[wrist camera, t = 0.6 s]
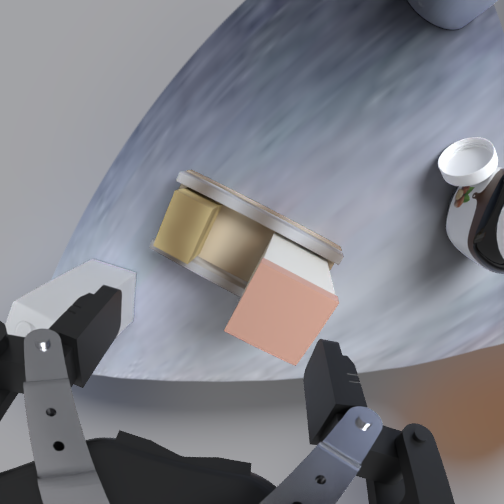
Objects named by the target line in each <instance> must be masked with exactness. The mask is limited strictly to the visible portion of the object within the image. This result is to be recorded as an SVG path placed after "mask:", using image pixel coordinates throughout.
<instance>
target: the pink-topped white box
mask: <svg viewBox="0 0 504 504" xmlns="http://www.w3.org/2000/svg"><path fill="white" fill-rule="evenodd" d="M338 304H339V301H338V296H336V295H335V292H334V288H333V283H332V279H331V275H330V271H329V267H328V262H327V259H326V258H324V257H322V256H320V255H318V254H317V253H315V252H313V251H311V250H309V249H307V248H305V247H303V246H302V245H300V244H298V243H296V242H294V241H292V240H290V239H288V238H286V237H285V236H283V235H281V234H279V233H277V232H274V234H273V236H272V238H271V240H270V241H269V243H268V245H267V247H266V249H265V251H264V253H263V255H262V257H261V258H260V260H259V262H258V264H257V266H256V268H255V270H254V272H253V273H252V275H251V277H250V279H249V281H248V283H247V285H246V288H245V290H244V292H243V294H242V296H241V298H240V301H239V303H238V305H237V307H236V308H235V310H234V312H233V314H232V316H231V318H230V320H229V321H228V323H227V325H226V327H225V330H224V331H225V332H227V333H229V334H231V335H233V336H235V337H237V338H239V339H241V340H243V341H245V342H247V343H249V344H251V345H253V346H255V347H257V348H259V349H261V350H263V351H265V352H267V353H269V354H271V355H273V356H275V357H278V358H280V359H282V360H284V361H286V362H288V363H290V364H293V365H295V366H296V365H297V363H298V362H299V361H300V359H301V358H302V356H303V355H304V354H305V352H306V351H307V349H308V348H309V347H310V345H311V344H312V342H313V341H314V339H315V338H316V337H317V335H318V334H319V332H320V331H321V329H322V328H323V326H324V325H325V323H326V322H327V320H328V319H329V317H330V316H331V314H332V313H333V311H334V310H335V308H336V307H337V305H338Z"/></svg>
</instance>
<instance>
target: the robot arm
mask: <svg viewBox="0 0 504 504" xmlns="http://www.w3.org/2000/svg"><path fill="white" fill-rule="evenodd" d="M497 1H498V0H408V2H409V3H410V5H411V6H412V7H413V9H414V10H415V11H416V12H417V13H418V14H419V15H421V16H422V17H423V18H424V19H426V20H427V21H429V22H430V23H432V24H434V25H436V26H438V27H442V28H444V29H451V30H454V29H460V28H463V27H464V26H465V25H466V24H468V23H469V22H470V21H472V20H473V19H475V18H476V17H478V16H479V15H480V14H481V13H483V12H484V11H485V10H487V9H488V8H489V7H490V6H492V5H493V4H494V3H496V2H497ZM121 307H122V291H121V290H120V289H117V288H113V287H110V286H107V285H103V286H101V287H100V288H99V289H98V291H97V292H96V293H95V294H92V293H88V294H86V295H83V296H81V297H79V298H78V299H77V300H76V301H75V302H74V303H73V305H71V306H70V307H69V308H68V309H67V311H65V312H64V313H63V314H62V315H61V316H60V317H59V318H58V319H57V320H56V321H55V322H54V324H53V325H52V326H51V327H50V328H49V329H36V330H33V331H31V332H30V333H28V334H27V335H26V337H21V336H15V335H9V334H7V330H6V326H5V325H4V323H2V322H1V321H0V421H1V419H2V417H3V416H4V414H5V413H6V411H7V409H8V408H9V406H10V405H11V403H12V402H13V400H14V399H15V397H16V396H17V394H18V393H23V394H24V398H25V407H26V415H27V422H28V428H29V435H30V440H31V446H32V451H33V456H34V461H32V462H30V463H27V464H24V465H22V466H19V467H16V468H13V469H10V470H7V471H4V472H1V473H0V504H336V502H337V501H338V500H339V498H340V497H341V496H342V494H343V493H344V492H345V490H346V489H347V487H348V486H349V484H350V483H351V482H352V480H353V479H354V477H355V476H359V477H362V478H366V483H367V490H368V500H369V504H455V503H454V500H453V496H452V492H451V489H450V486H449V482H448V479H447V476H446V472H445V469H444V466H443V463H442V460H441V457H440V454H439V451H438V448H437V445H436V442H435V439H434V437H433V435H432V433H431V432H430V431H429V430H428V429H427V428H426V427H424V426H422V425H420V424H409V425H407V426H406V427H405V428H404V429H403V430H402V431H399V430H396V429H392V428H389V427H386V426H383V423H382V420H381V418H380V417H379V416H378V414H377V413H376V412H374V411H373V410H371V409H369V408H367V405H366V401H365V397H364V394H363V391H362V387H361V384H360V383H359V382H360V381H359V378H358V376H357V371H356V368H355V365H354V364H353V362H352V361H351V360H350V359H349V358H348V356H343V355H342V353H341V349H340V346H339V343H338V342H334V341H328V340H323V339H320V340H319V341H318V342H317V344H316V346H315V349H314V351H313V353H312V356H311V358H310V360H309V362H308V364H307V367H306V369H305V373H304V390H305V400H306V409H307V419H308V430H309V440H310V444H313V445H317V446H316V448H314V450H312V452H311V453H310V454H309V455H308V456H307V457H306V458H305V459H304V460H303V461H302V462H301V463H300V464H299V466H298V467H297V468H296V469H295V470H294V471H293V472H292V473H291V474H290V475H289V476H288V477H287V478H286V479H285V480H284V481H283V482H282V483H281V484H280V485H279V486H278V487H276V486H275V485H273V484H272V483H270V482H269V481H267V480H266V479H264V478H263V477H261V476H259V475H257V474H254V473H252V472H251V463H246V462H240V461H234V460H229V459H224V458H218V457H217V458H216V457H213V458H211V457H208V458H207V457H182V456H180V455H178V454H175V453H174V452H172V451H170V450H168V449H166V448H164V447H162V446H160V445H158V444H156V443H154V442H153V441H151V440H147V439H144V438H141V437H138V436H135V435H132V434H129V433H126V432H123V431H119V433H118V435H117V437H116V438H94V439H89V440H85V438H84V435H83V431H82V428H81V424H80V421H79V418H78V414H77V411H76V407H75V403H74V399H73V395H72V391H71V387H72V385H73V384H75V385H77V386H80V387H82V388H83V387H84V385H85V384H86V382H87V381H88V379H89V378H90V376H91V374H92V373H93V371H94V370H95V368H96V367H97V365H98V364H99V362H100V361H101V359H102V357H103V356H104V354H105V353H106V351H107V350H108V348H109V347H110V345H111V344H112V342H113V341H114V339H115V338H116V336H117V335H118V332H119V330H120V326H121Z"/></svg>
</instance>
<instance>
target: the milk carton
mask: <svg viewBox="0 0 504 504" xmlns="http://www.w3.org/2000/svg"><path fill="white" fill-rule="evenodd" d="M103 285H107V286H110V287H113V288H117V289H120V290H121V291H122V307H121V326H120V330H119V332H118V335H119V334H120V333H121V332H122V331H124V330H125V329H126V328H127V327H128V326H129V325H130V324H131V323H132V322H133V319H134V300H135V285H136V272H133V271H130V270H127V269H124V268H120V267H117V266H114V265H111V264H108V263H105V262H102V261H99V260H95V259H91V260H89V261H87V262H85V263H83V264H81V265H79V266H77V267H75V268H73V269H71V270H69V271H68V272H66V273H64V274H62V275H60V276H58V277H56V278H54V279H53V280H51V281H49V282H47V283H45V284H43V285H42V286H40V287H38V288H36V289H34V290H33V291H31V292H29V293H27V294H25V295H24V296H22V297H20V298H19V299H17V300H15V301H14V302H13V304H12V307H11V309H10V312H9V315H8V318H7V321H6V324H5V326H6V330H7V334H9V335H15V336H21V337H26V335H27V334H28V333H30V332H31V331H33V330H36V329H49V328H50V327H51V326H52V325H53V324H54V322H55V321H56V320H57V319H58V318H59V317H60V316H61V315H62V314H63V313H64V312H65V311H67V309H68V308H69V307H70V306H71V305H73V303H74V302H75V301H76V300H77V299H78V298H79V297H81V296H83V295H86V294H88V293H92V294H95V293H96V292H97V291H98V289H99V288H100V287H101V286H103ZM118 335H117V336H118ZM117 336H116V337H117Z"/></svg>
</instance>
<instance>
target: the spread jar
mask: <svg viewBox="0 0 504 504" xmlns="http://www.w3.org/2000/svg"><path fill="white" fill-rule="evenodd" d="M497 165H498V157H497V154H496V151H495V148H494V146H493V144H492V143H491V142H490V141H489V140H487V139H485V138H480V137H470V138H465V139H462V140H459V141H457V142H455V143H453V144H451V145H450V146H449V147H447V148H446V149H445V150H444V151H443V152H442V154H441V155H440V157H439V159H438V167H439V169H440V171H441V174H442V176H443V178H444V180H445V181H446V182H447V183H449V184H451V185H454V186H458V187H457V188H456V189H455V191H454V193H453V195H452V197H451V199H450V202H449V206H448V210H447V217H446V231H447V235H448V237H449V239H450V241H451V242H452V243H453V245H454V246H455V247H456V248H457V249H458V250H459V251H460V252H461V253H463V254H464V255H465V256H466V257H468V258H469V259H471V260H472V261H474V262H475V263H477V264H478V265H480V266H482V267H483V268H485V269H487V270H490V271H492V272H495V273H501V274H504V168H500V167H497Z"/></svg>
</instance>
